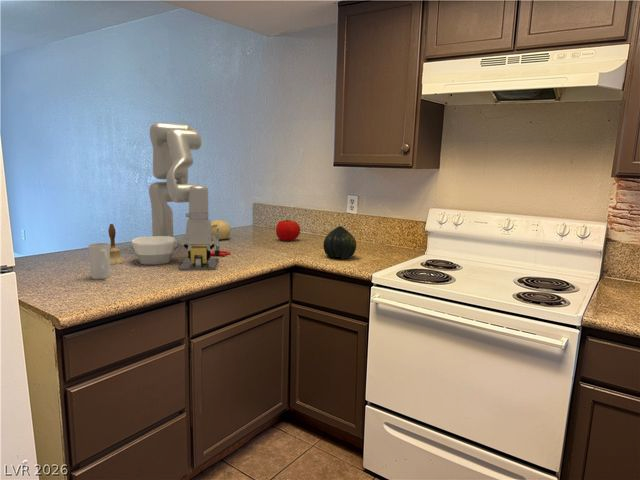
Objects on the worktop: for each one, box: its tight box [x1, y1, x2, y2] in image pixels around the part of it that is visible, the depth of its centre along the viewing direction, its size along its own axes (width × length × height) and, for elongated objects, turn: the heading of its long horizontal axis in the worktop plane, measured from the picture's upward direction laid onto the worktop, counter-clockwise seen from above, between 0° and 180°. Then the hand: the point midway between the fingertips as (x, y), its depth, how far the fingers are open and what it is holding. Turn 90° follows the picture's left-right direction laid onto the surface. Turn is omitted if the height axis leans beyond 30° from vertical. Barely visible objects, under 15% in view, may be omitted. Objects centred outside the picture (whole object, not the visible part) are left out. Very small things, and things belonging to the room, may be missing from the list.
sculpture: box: [210, 219, 232, 240], centre depth 244 cm, size 11×12×11 cm
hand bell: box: [108, 223, 126, 265], centre depth 184 cm, size 8×8×16 cm
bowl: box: [131, 235, 178, 266], centre depth 188 cm, size 18×18×9 cm
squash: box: [322, 225, 357, 260], centre depth 206 cm, size 14×15×15 cm
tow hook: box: [211, 228, 231, 257], centre depth 205 cm, size 8×13×9 cm
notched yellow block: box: [191, 245, 207, 263], centre depth 184 cm, size 6×8×6 cm
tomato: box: [275, 219, 301, 242], centre depth 246 cm, size 12×13×12 cm
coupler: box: [178, 255, 220, 271], centre depth 184 cm, size 14×18×5 cm
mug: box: [88, 242, 111, 280], centre depth 160 cm, size 10×7×12 cm, turn 45°
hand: (199, 259), depth 184 cm, fingers closed on notched yellow block, 6 cm apart
